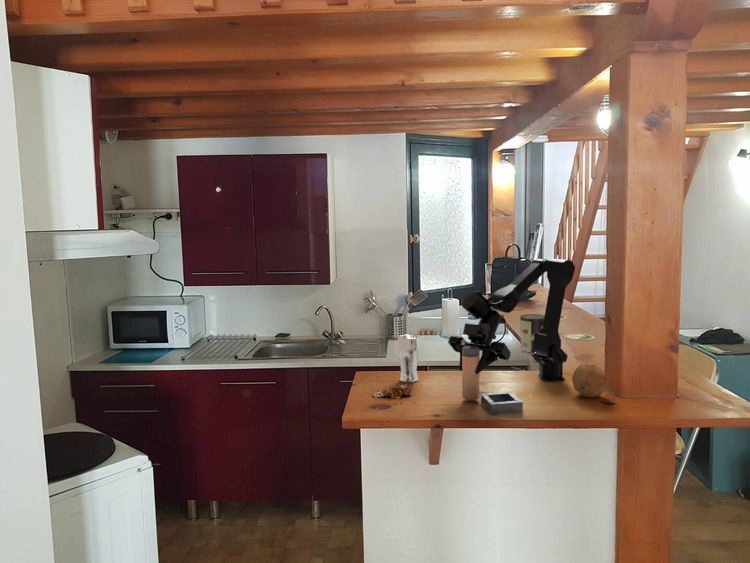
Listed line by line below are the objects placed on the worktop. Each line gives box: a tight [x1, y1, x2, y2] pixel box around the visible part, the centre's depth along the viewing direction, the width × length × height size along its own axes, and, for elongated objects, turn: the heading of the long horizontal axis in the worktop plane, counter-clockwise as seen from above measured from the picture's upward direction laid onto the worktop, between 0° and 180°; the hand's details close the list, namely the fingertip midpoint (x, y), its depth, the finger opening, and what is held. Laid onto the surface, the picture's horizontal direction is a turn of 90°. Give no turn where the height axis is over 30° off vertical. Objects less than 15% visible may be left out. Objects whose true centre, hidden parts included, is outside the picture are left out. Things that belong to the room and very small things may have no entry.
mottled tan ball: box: [571, 362, 608, 398], centre depth 165 cm, size 10×10×10 cm
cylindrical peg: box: [461, 346, 481, 401], centre depth 164 cm, size 5×5×15 cm
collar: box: [480, 391, 524, 416], centre depth 159 cm, size 9×9×3 cm
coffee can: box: [519, 313, 545, 356], centre depth 217 cm, size 10×10×14 cm
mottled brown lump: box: [373, 384, 412, 399], centre depth 173 cm, size 7×12×4 cm, turn 102°
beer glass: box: [397, 333, 420, 383], centre depth 187 cm, size 7×7×15 cm
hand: (468, 371), depth 163 cm, fingers closed on cylindrical peg, 5 cm apart
